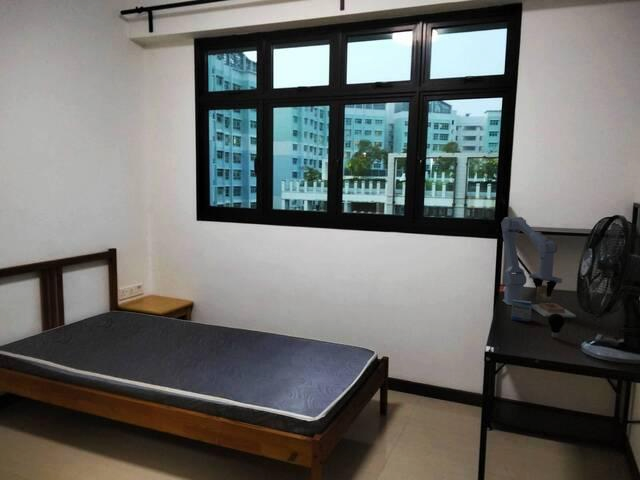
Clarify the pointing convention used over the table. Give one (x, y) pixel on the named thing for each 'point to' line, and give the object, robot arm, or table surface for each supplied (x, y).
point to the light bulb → (556, 324)
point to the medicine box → (521, 310)
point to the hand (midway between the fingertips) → (543, 295)
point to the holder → (551, 310)
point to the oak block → (542, 293)
